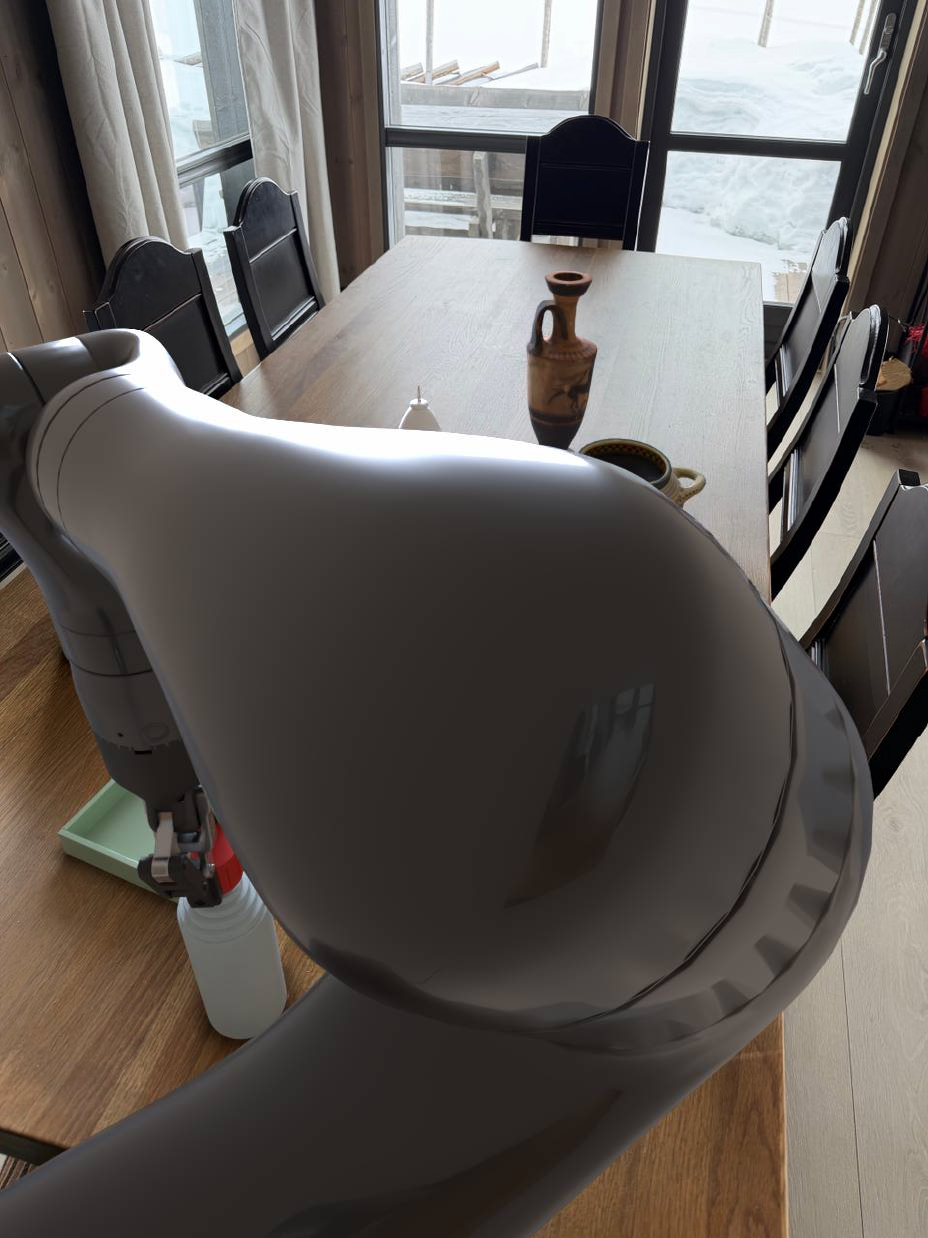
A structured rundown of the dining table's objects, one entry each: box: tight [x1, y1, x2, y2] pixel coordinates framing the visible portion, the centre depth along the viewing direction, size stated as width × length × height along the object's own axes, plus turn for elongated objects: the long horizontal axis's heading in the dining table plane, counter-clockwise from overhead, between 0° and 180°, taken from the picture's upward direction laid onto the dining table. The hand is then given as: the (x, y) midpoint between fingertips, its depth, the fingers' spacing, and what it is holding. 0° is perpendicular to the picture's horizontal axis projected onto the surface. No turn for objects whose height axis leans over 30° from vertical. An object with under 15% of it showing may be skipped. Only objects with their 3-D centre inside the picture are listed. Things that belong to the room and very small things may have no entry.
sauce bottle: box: [397, 384, 443, 432], centre depth 130 cm, size 8×8×18 cm
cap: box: [191, 823, 244, 895], centre depth 58 cm, size 4×4×3 cm
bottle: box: [176, 871, 288, 1040], centre depth 64 cm, size 6×6×20 cm
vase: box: [525, 270, 598, 453], centre depth 135 cm, size 11×11×30 cm
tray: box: [56, 778, 180, 905], centre depth 86 cm, size 23×17×3 cm
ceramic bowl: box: [577, 437, 707, 509], centre depth 121 cm, size 24×18×15 cm
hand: (212, 873), depth 59 cm, fingers closed on cap, 3 cm apart
